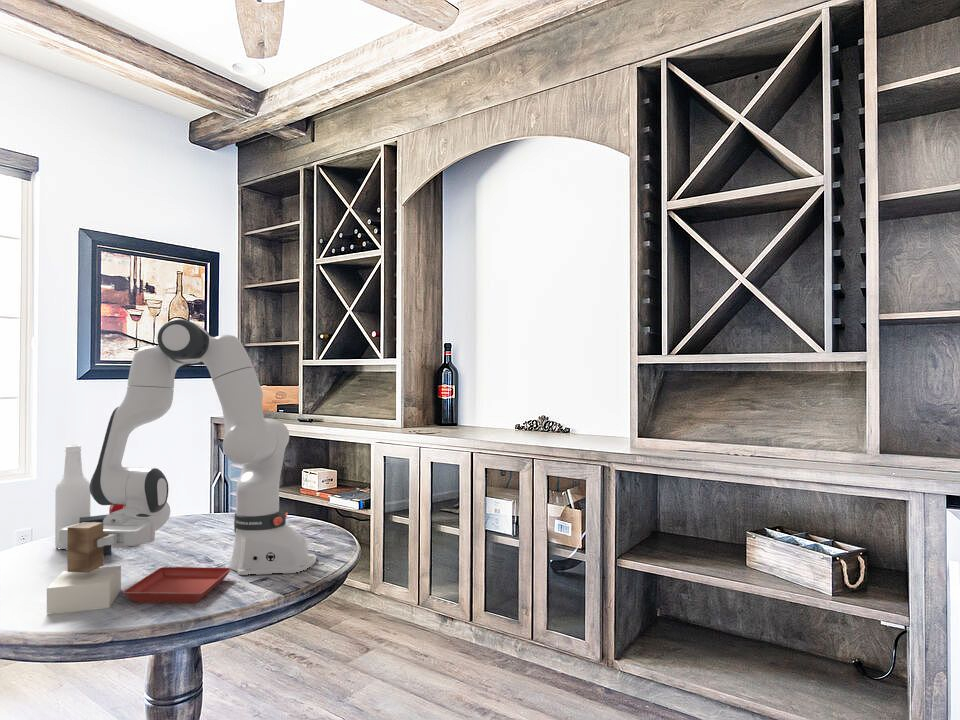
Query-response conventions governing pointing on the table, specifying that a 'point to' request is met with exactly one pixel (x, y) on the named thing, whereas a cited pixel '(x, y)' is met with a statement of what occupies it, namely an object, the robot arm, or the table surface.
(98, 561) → the walnut block
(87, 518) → the box
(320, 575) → the table surface
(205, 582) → the plant saucer
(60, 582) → the plinth
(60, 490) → the white bottle
